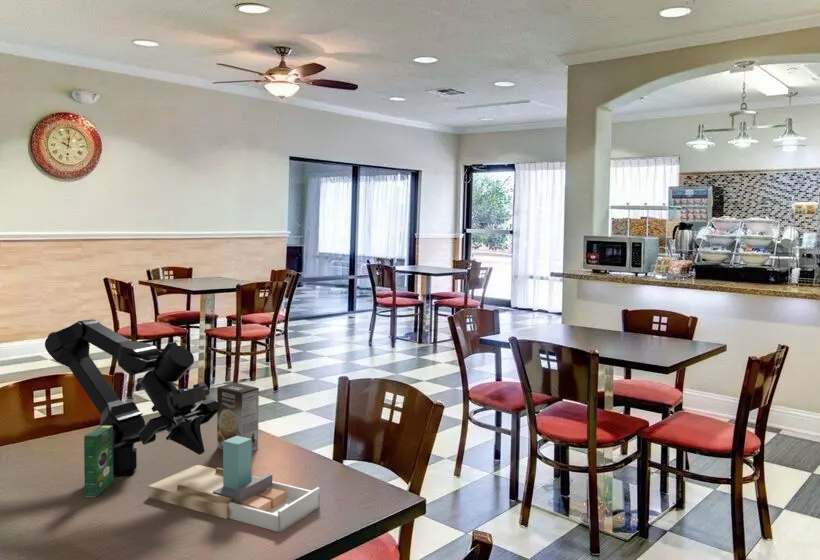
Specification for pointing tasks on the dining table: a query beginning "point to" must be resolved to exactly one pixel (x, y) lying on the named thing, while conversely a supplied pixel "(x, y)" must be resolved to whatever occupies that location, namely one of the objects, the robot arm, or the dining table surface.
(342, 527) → the dining table surface
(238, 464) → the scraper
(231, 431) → the coffee box
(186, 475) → the board
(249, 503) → the tile
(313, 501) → the tray
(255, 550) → the dining table surface
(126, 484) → the dining table surface
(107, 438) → the coffee box
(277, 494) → the tile
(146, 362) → the robot arm
